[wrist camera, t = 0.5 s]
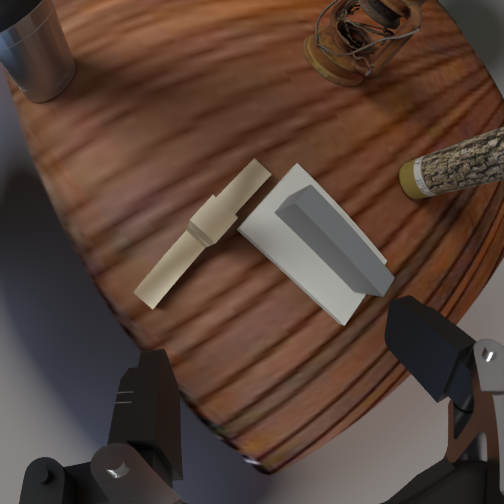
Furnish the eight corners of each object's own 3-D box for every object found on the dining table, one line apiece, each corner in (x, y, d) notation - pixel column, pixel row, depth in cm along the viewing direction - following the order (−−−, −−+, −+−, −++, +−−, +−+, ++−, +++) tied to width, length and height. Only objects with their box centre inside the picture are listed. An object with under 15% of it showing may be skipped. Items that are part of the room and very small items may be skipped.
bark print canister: (425, 197, 46) (539, 172, 22) (403, 202, 44) (529, 173, 20) (415, 162, 45) (525, 124, 21) (392, 164, 44) (512, 118, 20)
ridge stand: (236, 229, 36) (253, 221, 28) (293, 166, 39) (320, 146, 31) (339, 323, 40) (372, 335, 32) (381, 261, 42) (417, 260, 34)
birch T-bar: (135, 290, 33) (118, 303, 22) (250, 163, 37) (278, 129, 27) (154, 306, 34) (145, 326, 23) (266, 178, 38) (300, 149, 27)
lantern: (377, 97, 44) (496, 20, 15) (321, 95, 40) (449, -19, 11) (344, 31, 43) (430, -54, 14) (289, 24, 40) (369, -89, 11)
